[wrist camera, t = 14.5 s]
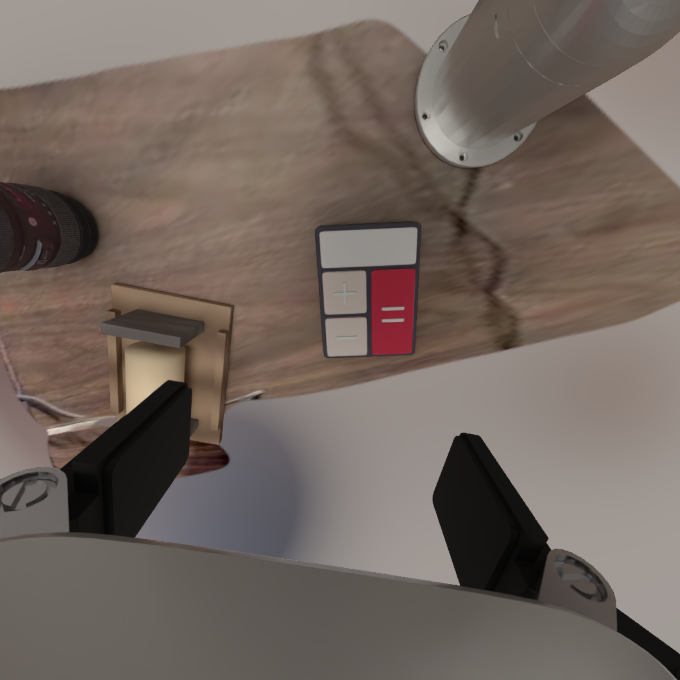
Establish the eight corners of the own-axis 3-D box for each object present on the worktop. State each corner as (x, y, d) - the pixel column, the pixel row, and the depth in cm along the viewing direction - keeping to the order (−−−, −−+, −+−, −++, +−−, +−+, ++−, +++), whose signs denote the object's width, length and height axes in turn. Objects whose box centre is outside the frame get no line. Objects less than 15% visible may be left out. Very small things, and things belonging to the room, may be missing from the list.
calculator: (323, 361, 37) (313, 227, 31) (325, 347, 41) (317, 225, 35) (416, 358, 37) (423, 222, 31) (409, 343, 41) (414, 221, 35)
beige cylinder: (173, 337, 40) (117, 343, 36) (194, 356, 36) (134, 364, 32) (171, 404, 43) (120, 417, 39) (190, 427, 40) (135, 444, 35)
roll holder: (117, 283, 38) (68, 294, 31) (233, 305, 38) (211, 321, 32) (121, 423, 44) (82, 457, 37) (221, 440, 45) (200, 476, 38)
